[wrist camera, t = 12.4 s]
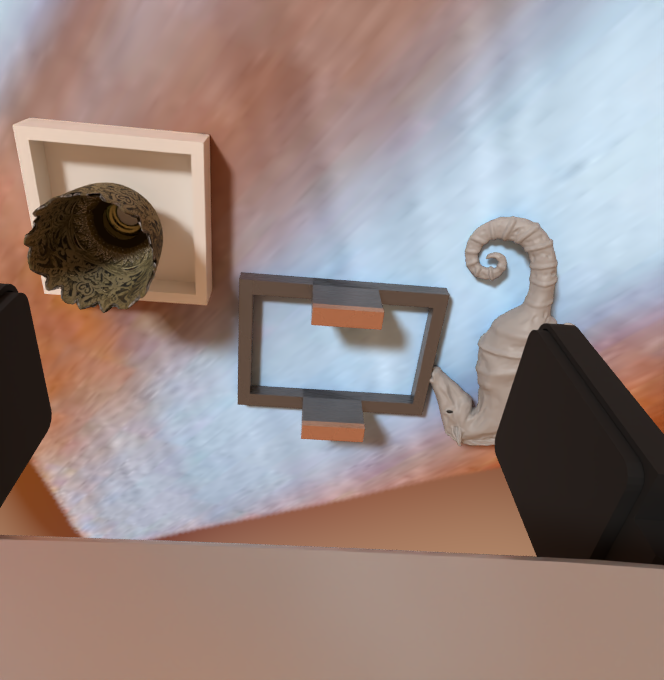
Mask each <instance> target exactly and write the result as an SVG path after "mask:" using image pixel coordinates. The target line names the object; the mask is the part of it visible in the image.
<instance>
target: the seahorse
mask: <svg viewBox="0 0 664 680" xmlns="http://www.w3.org/2000/svg"><path fill="white" fill-rule="evenodd" d="M496 239H502V240H503V241H506V240H510V241H513V242H515V243H516V244H520V245H521V246H522V247H523V248H524V251H525V252H527V253H528V255H529V258H530V261H531V263H530V266H529V267H530V268H531V274H530V278H529V281H530V286H529V291H528V294H527V296H526V297H525V301H524V302H523V304H522V305H520V306H518V307H516V308H514V309H511V310H509V311H507V312H506V313H504V314H503V315H500V316H499V317H498V318H497V319H495V320H494V321H493V323H492V325H491V327H490V328H489V330H488V331H487V332H486V333H484V334H483V335H482V336H481V337H480V339H479V341H478V346H479V351H478V361H477V364H476V371H477V376H478V384H479V386H480V387H479V390H478V404H477V406H476V407H475V408H473V407H472V397H471V396H470V395H469V394H468V393H466V392H464V391H463V390H462V389H461V388H460V386H459V385H458V384H457V383H455V382H454V381H453V380H452V379H450V378H449V377H448V376H447V375H446V374H445V373H444V372H443V371H442V370H441V368H440V367H438V366H434V367H433V369H432V373H431V377H430V383H431V385H432V387H433V390H434V392H435V395H436V398H437V401H438V405H439V409H440V414H441V418H442V421H443V425H444V429H445V433H446V434H447V435H448V436H450V437H451V438H452V439H453V440H455V441H456V442H457V444H458V445H459V446H461V442H462V443H463V444H468V445H479V446H481V445H485V446H489V445H495V437H496V433H497V430H498V427H499V424H500V421H501V418H502V415H503V412H504V408H505V405H506V402H507V399H508V396H509V393H510V390H511V387H512V384H513V381H514V378H515V375H516V372H517V369H518V366H519V363H520V360H521V356H522V353H523V350H524V347H525V344H526V341H527V338H528V336H529V333H530V332H531V331H532V330H538V329H539V327H540V326H541V325H542V324H544V323H550V324H557V321H556V319H555V318H553V317H552V316H551V315H550V310H551V305H552V303H553V300H554V298H553V294H554V289H555V283H556V282H557V280H558V279H557V276H556V274H557V265H558V262H557V260H556V256H555V252H554V248H553V240H552V239H550V238H549V237H548V235H547V233H546V232H545V231H544V230H543V229H542V228H541V227H540V225H539V223H535V222H532V221H530V220H528V219H524V218H519V217H514V216H512V217H499V218H496V219H494V220H491V221H489V222H487V223H485V224H483V225H482V226H480V227H478V228H477V229H476V230H475V231H474V232H473V234H472V235H471V236H470V238H469V240H468V242H467V246H466V249H465V257H466V259H465V261H466V266H467V267H468V268H469V270H470V271H471V272H472V274H474V275H475V277H479V278H482V279H490V280H491V281H493V280H494V279H496V278H498V277H499V276H500V275H501V274H502V273H503V272H504V270H506V265H507V261H506V257H505V256H504V255H502V254H501V253H497V252H494V253H490V254H488V255H487V257H486V259H489V258H495V259H497V261H498V262H499V263H498V264H497V267H496V268H493V267H492V266H490V267H488V268H487V267H484V266H482V265H481V264H480V263H479V258H478V253H479V252H480V251H481V248H482V246H483V245H484V244H487V243H488V242H489V241H490V240H496ZM564 325H573V324H571V323H565V324H564Z"/></svg>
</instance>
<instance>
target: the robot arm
mask: <svg viewBox="0 0 664 680" xmlns="http://www.w3.org/2000/svg"><path fill="white" fill-rule="evenodd" d="M51 415H52V413H51V407H50V402H49V397H48V392H47V388H46V383H45V378H44V373H43V368H42V364H41V359H40V354H39V349H38V344H37V340H36V335H35V330H34V325H33V320H32V316H31V311H30V306H29V302H28V298H27V297H26V295H25V294H24V293H18V291H17V289H16V287H15V286H13V285H12V284H1V283H0V507H1V506H2V504H3V502H4V501H5V499H6V497H7V496H8V494H9V493H10V491H11V489H12V488H13V486H14V485H15V483H16V481H17V480H18V478H19V477H20V475H21V473H22V472H23V470H24V468H25V467H26V465H27V464H28V462H29V460H30V459H31V457H32V455H33V454H34V452H35V451H36V449H37V447H38V446H39V444H40V443H41V441H42V439H43V438H44V436H45V434H46V433H47V431H48V429H49V427H50V423H51ZM495 453H496V456H497V458H498V461H499V463H500V466H501V468H502V471H503V473H504V475H505V478H506V481H507V483H508V486H509V488H510V491H511V493H512V496H513V498H514V501H515V503H516V506H517V508H518V511H519V513H520V516H521V518H522V520H523V523H524V526H525V528H526V531H527V533H528V536H529V538H530V540H531V543H532V546H533V548H534V550H535V553H536V555H537V557H531V556H511V555H510V556H509V555H489V554H467V553H445V552H424V551H402V550H380V549H356V548H333V547H309V546H285V545H284V546H283V545H261V544H259V545H258V544H235V543H210V542H185V541H182V542H181V541H159V540H130V539H102V538H73V537H44V536H16V535H0V680H664V434H663V433H662V432H661V430H660V429H659V428H658V427H657V425H656V424H655V423H654V422H653V420H652V419H651V418H650V417H649V416H648V414H647V413H646V412H645V411H644V409H643V408H642V407H641V406H640V404H639V403H638V402H637V401H636V399H635V398H634V397H633V396H632V394H631V393H630V392H629V391H628V390H627V388H626V387H625V386H624V385H623V383H622V382H621V381H620V380H619V378H618V377H617V376H616V375H615V373H614V372H613V371H612V370H611V369H610V367H609V366H608V365H607V364H606V362H605V361H604V360H603V359H602V357H601V356H600V355H599V354H598V352H597V351H596V350H595V349H594V347H593V346H592V345H591V344H590V343H589V341H588V340H587V339H586V338H585V336H584V335H583V334H582V333H581V331H580V330H579V329H578V328H577V327H576V326H575V325H564V324H550V323H544V324H542V325H541V326H540V327H539V329H538V330H532V331H531V332H530V333H529V336H528V338H527V341H526V344H525V347H524V350H523V353H522V356H521V360H520V363H519V366H518V369H517V372H516V375H515V378H514V381H513V384H512V387H511V390H510V393H509V396H508V399H507V402H506V405H505V408H504V412H503V415H502V418H501V421H500V424H499V427H498V430H497V433H496V437H495Z"/></svg>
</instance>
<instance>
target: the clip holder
mask: <svg viewBox="0 0 664 680" xmlns="http://www.w3.org/2000/svg"><path fill="white" fill-rule="evenodd" d="M254 295H266V296H279V297H293V298H306V299H312V320H311V325H322V326H336V327H350V328H364V329H379V330H381V329H382V323H383V317H384V309H383V307H382V304H388V305H401V306H415V307H428V308H429V312H428V317H427V322H426V326H425V331H424V336H423V340H422V345H421V350H420V354H419V359H418V364H417V369H416V373H415V378H414V383H413V387H412V392H411V395H397V394H381V393H365V392H349V391H332V390H316V389H300V388H284V387H267V386H251V375H252V338H253V301H254ZM448 299H449V293H448V291H447V289H446V288H438V287H425V286H412V285H399V284H386V283H372V282H359V281H346V280H333V279H320V278H307V277H294V276H281V275H268V274H255V273H242V272H241V275H240V278H239V346H238V404H239V405H256V406H273V407H290V408H302V429H301V439H315V440H334V441H352V442H363V437H364V431H365V425H364V419H363V412H375V413H392V414H409V415H422V412H423V408H424V403H425V399H426V395H427V390H428V386H429V382H430V377H431V373H432V369H433V364H434V360H435V356H436V351H437V347H438V343H439V338H440V334H441V330H442V325H443V321H444V317H445V312H446V308H447V304H448Z"/></svg>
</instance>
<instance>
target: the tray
mask: <svg viewBox="0 0 664 680" xmlns="http://www.w3.org/2000/svg"><path fill="white" fill-rule="evenodd" d="M13 130H14V136H15V141H16V146H17V151H18V157H19V162H20V167H21V172H22V178H23V183H24V188H25V193H26V199H27V204H28V209H29V214H30V220H31V225H32V228H33V221H34V220H35V219H36V217H34V215H33V212H34V211H35V210H36V209H37V208H38V207H40V206H41V205H43V204H45V203H46V202H47V201H48V200H50V199H51V198H53V197H56V196H60V195H62V194H65V193H67V192H69V191H72V190H74V189H77V188H79V187H82V186H85V185H89V184H94V183H105V182H107V183H116V184H120V185H124V186H126V187H129V188H131V189H133V190H135V191H136V192H138V193H139V194H141V195H142V196H143V197H144V198H145V199H147V200H148V202H149V203H150V204H151V205H152V206H153V208H154V209H155V211H156V212H157V214H158V216H159V219H160V221H161V225H162V230H163V246H162V252H161V256H160V260H159V263H158V266H157V270H156V273H155V276H154V279H153V280H152V282H151V284H150V287H149V290H148V292H147V294H146V295H145V296H144V297H143V298H140V299H139V300H140V301H154V302H168V303H182V304H196V305H207V304H208V301H209V298H210V295H211V292H212V241H211V178H210V135H209V134H198V133H187V132H177V131H166V130H156V129H145V128H134V127H124V126H113V125H103V124H92V123H82V122H71V121H60V120H50V119H39V118H28V119H26V120H23V121H21V122H18V123H16V124H14V125H13ZM117 216H118V218H119V220H120V221H121V222H123V223H124V224H126V225H135V224H137V223H138V221H137V218H133V217H131V216H130V215H127V214H125V213H124V212H123V211H122V210H121V208H120V207H118V209H117ZM41 277H42V283H43V288H44V293H45V294H57V295H61V289H60V288H61V287H59V289H56V290H51V291H48V290H46V288H45V281H46V279H45V277H43V276H42V275H41Z"/></svg>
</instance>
